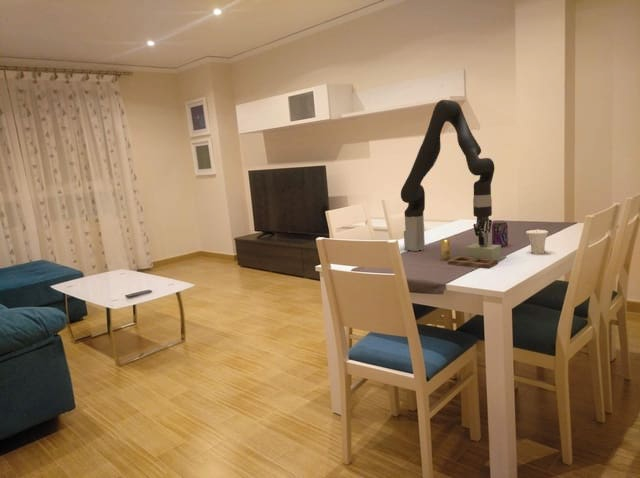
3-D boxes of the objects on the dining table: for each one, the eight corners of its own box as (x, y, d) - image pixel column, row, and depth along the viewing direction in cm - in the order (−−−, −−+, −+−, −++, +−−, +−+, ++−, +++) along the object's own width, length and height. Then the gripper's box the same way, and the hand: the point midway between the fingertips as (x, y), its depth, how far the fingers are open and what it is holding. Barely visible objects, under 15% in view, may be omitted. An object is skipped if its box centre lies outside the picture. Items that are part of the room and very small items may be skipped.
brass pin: (439, 259, 207) (439, 240, 206) (444, 258, 210) (443, 238, 208) (448, 260, 204) (447, 240, 203) (452, 258, 207) (451, 239, 206)
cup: (548, 250, 207) (549, 229, 206) (547, 255, 200) (547, 232, 198) (527, 250, 212) (527, 228, 210) (524, 254, 204) (524, 232, 202)
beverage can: (498, 248, 221) (497, 223, 219) (489, 245, 228) (488, 221, 225) (510, 246, 223) (510, 221, 220) (501, 244, 229) (501, 220, 227)
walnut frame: (448, 264, 198) (448, 260, 198) (458, 259, 205) (458, 256, 205) (488, 268, 186) (488, 264, 186) (498, 263, 192) (498, 260, 192)
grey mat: (460, 259, 205) (460, 258, 204) (471, 254, 212) (471, 253, 212) (496, 263, 194) (496, 261, 193) (506, 257, 201) (506, 256, 201)
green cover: (465, 258, 204) (465, 233, 202) (475, 254, 210) (474, 230, 208) (492, 260, 196) (492, 235, 194) (501, 256, 202) (500, 231, 200)
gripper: (481, 202, 206) (481, 240, 209) (466, 207, 196) (467, 246, 199) (497, 203, 201) (498, 241, 204) (483, 207, 191) (484, 248, 194)
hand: (483, 244), depth 202 cm, fingers closed on green cover, 3 cm apart
